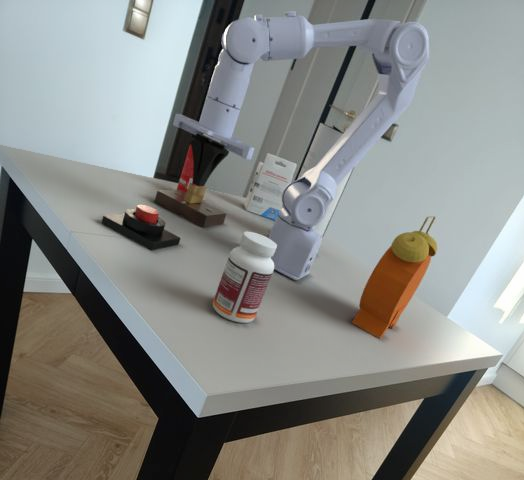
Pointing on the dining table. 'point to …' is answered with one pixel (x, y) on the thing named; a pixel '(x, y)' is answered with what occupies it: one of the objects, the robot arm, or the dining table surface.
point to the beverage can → (186, 172)
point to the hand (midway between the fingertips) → (198, 184)
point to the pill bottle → (245, 278)
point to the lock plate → (190, 208)
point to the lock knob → (195, 193)
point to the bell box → (141, 230)
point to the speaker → (317, 151)
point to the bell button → (146, 213)
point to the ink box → (269, 186)
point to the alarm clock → (395, 281)
